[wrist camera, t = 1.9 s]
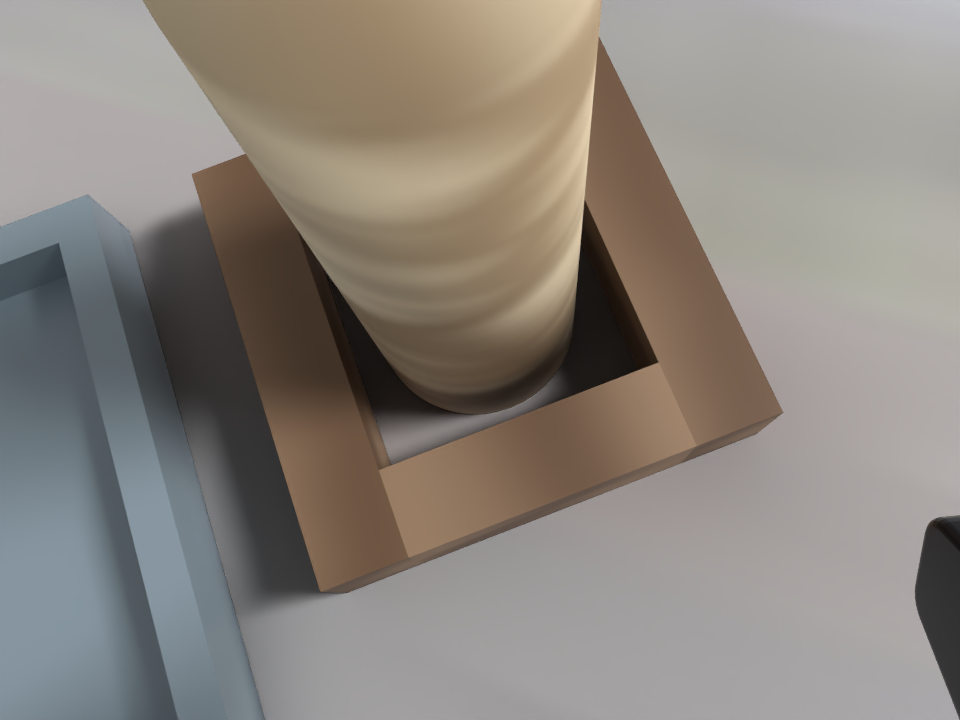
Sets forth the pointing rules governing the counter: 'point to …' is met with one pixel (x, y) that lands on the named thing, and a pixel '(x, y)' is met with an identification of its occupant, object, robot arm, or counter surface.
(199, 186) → the socket block
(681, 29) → the counter surface
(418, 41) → the dowel
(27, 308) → the tray
